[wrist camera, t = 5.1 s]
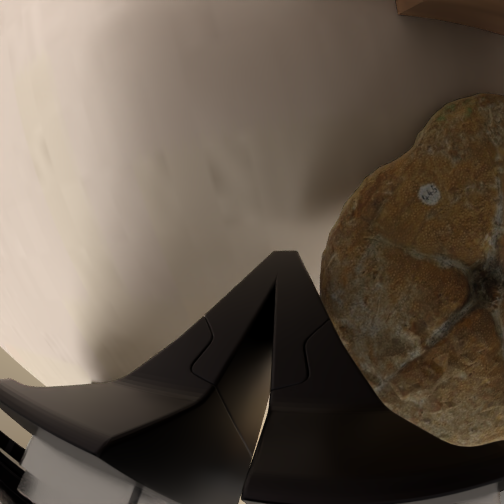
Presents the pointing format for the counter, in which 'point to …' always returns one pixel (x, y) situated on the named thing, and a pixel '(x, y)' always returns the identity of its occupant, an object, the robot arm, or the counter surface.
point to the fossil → (429, 275)
